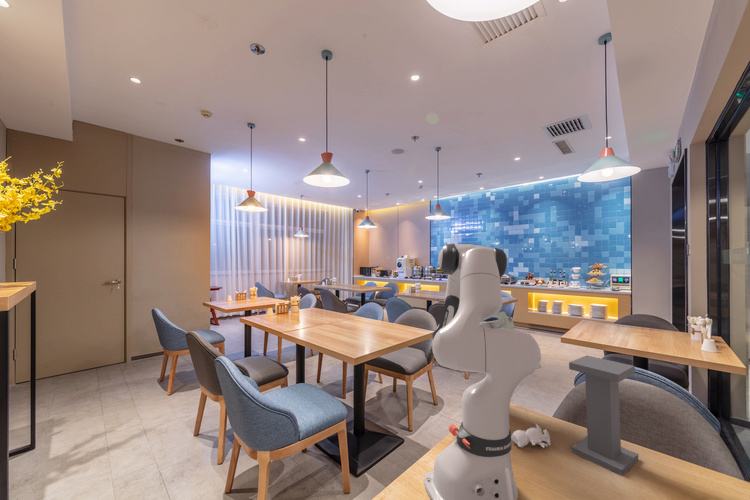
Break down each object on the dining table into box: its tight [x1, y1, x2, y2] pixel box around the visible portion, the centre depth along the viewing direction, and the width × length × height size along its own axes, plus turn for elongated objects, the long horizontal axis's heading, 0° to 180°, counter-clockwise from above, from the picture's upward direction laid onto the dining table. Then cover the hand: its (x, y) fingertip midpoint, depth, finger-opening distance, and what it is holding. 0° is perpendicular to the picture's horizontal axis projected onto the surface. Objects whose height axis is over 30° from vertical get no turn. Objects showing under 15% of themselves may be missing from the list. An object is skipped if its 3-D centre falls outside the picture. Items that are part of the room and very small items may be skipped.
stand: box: [568, 355, 639, 477], centre depth 88 cm, size 12×12×26 cm
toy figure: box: [511, 423, 552, 449], centre depth 93 cm, size 11×5×12 cm
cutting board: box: [495, 311, 543, 370], centre depth 110 cm, size 10×22×2 cm
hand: (508, 319), depth 113 cm, fingers closed on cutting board, 3 cm apart
